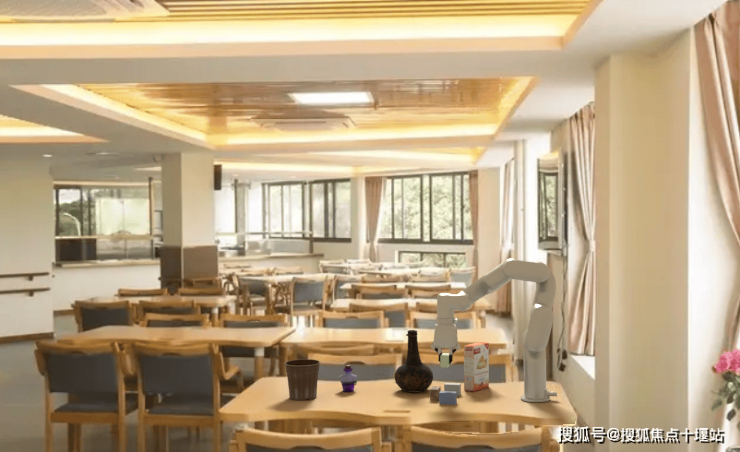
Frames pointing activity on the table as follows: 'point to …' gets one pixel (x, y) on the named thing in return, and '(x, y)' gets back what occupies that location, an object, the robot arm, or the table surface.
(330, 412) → the table surface
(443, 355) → the sage brick
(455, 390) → the slate brick
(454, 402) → the blue block
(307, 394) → the plant pot
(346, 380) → the potion bottle
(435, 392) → the walnut brick
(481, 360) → the cracker box
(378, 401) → the table surface
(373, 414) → the table surface
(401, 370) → the glass bottle
